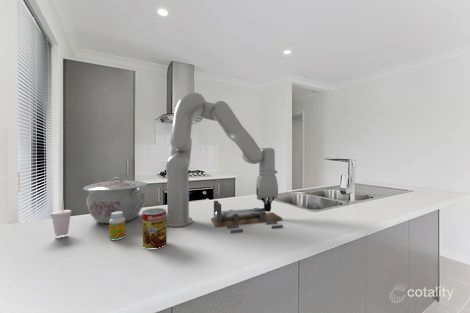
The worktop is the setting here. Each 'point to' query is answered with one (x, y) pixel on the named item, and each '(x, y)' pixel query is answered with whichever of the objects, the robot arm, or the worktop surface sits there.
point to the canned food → (154, 228)
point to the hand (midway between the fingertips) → (267, 210)
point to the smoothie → (61, 221)
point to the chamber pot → (115, 199)
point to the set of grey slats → (242, 229)
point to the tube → (241, 213)
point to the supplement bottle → (116, 225)
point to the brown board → (236, 221)
